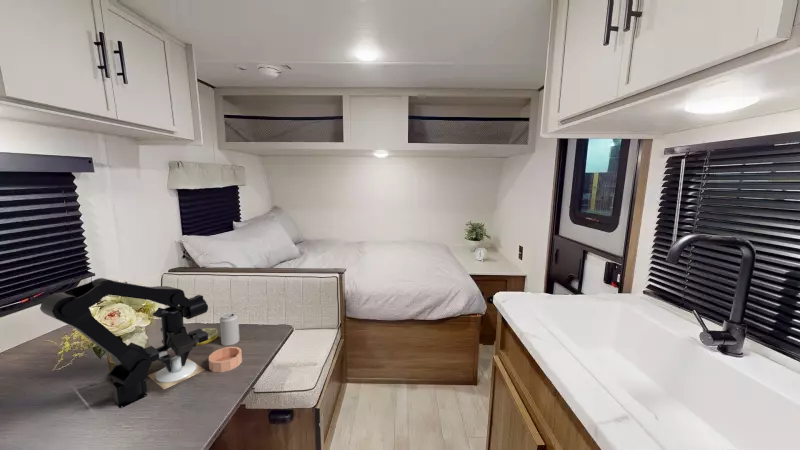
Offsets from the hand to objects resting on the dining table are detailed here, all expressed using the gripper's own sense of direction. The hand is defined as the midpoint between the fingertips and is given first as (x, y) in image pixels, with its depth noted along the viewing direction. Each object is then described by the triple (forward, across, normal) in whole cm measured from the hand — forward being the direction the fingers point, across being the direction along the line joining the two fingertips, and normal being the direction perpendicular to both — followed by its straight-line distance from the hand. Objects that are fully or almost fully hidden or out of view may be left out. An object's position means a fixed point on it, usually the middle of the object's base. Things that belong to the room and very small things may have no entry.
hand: (176, 368), depth 103 cm
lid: (+1, 0, 0) cm, 1 cm away
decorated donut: (+2, +16, +16) cm, 23 cm away
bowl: (+2, +12, -8) cm, 15 cm away
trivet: (+2, 0, 0) cm, 2 cm away
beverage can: (+2, +21, +5) cm, 22 cm away
